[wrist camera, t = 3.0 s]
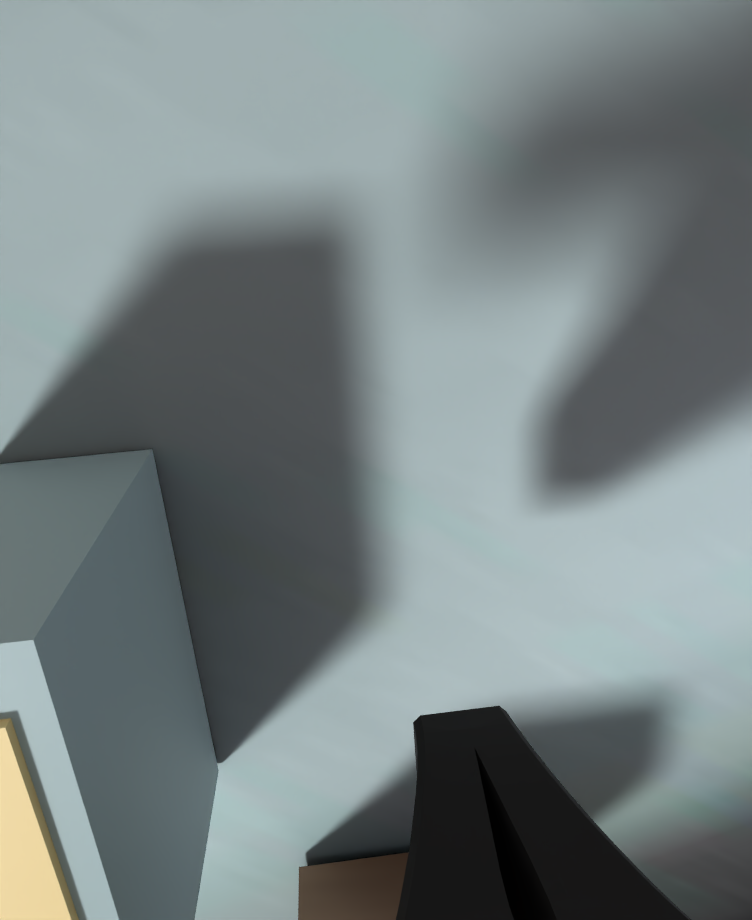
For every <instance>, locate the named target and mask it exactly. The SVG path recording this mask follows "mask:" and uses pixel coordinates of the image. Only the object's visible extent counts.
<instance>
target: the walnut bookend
mask: <svg viewBox="0 0 752 920" xmlns="http://www.w3.org/2000/svg"><path fill="white" fill-rule="evenodd" d="M408 853H409V852H408ZM408 853H401V854H394V855H386V856H379V857H371V858H364V859H356V860H349V861H342V862H334V863H327V864H319V865H312V866H304V867H299V908H298V920H396V916H397V912H398V907H399V902H400V897H401V892H402V886H403V881H404V875H405V870H406V864H407V859H408Z"/></svg>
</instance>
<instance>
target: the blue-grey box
mask: <svg viewBox="0 0 752 920" xmlns="http://www.w3.org/2000/svg"><path fill="white" fill-rule="evenodd" d="M217 777H218V766H217V761H216V757H215V752H214V747H213V742H212V737H211V732H210V727H209V722H208V718H207V713H206V708H205V703H204V698H203V693H202V688H201V683H200V679H199V674H198V669H197V664H196V659H195V654H194V649H193V644H192V640H191V635H190V630H189V625H188V620H187V615H186V610H185V606H184V601H183V596H182V591H181V586H180V581H179V576H178V571H177V567H176V562H175V557H174V552H173V547H172V542H171V537H170V532H169V528H168V523H167V518H166V513H165V508H164V503H163V498H162V493H161V489H160V484H159V479H158V474H157V469H156V464H155V459H154V455H153V450H152V449H150V450H140V451H129V452H119V453H109V454H98V455H88V456H78V457H68V458H57V459H47V460H37V461H26V462H16V463H6V464H0V920H194V919H195V912H196V906H197V900H198V894H199V888H200V882H201V875H202V869H203V863H204V857H205V851H206V844H207V838H208V832H209V826H210V820H211V814H212V807H213V801H214V795H215V789H216V783H217Z"/></svg>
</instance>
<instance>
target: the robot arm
mask: <svg viewBox="0 0 752 920" xmlns="http://www.w3.org/2000/svg"><path fill="white" fill-rule="evenodd" d="M413 724H414V739H415V754H416V769H417V785H416V798H415V807H414V816H413V825H412V834H411V841H410V848H409V853H408V859H407V864H406V870H405V875H404V881H403V886H402V892H401V897H400V902H399V907H398V912H397V916H396V920H691V919H690V918H689V917H688V916H687V915H686V914H685V913H683V912H682V911H681V910H680V909H679V908H678V907H677V906H676V905H675V904H674V903H673V902H672V901H671V900H670V899H669V898H668V897H666V896H665V895H664V894H663V893H662V892H661V891H660V890H659V889H658V888H657V887H656V886H655V885H654V884H653V883H652V882H651V881H650V880H649V879H648V878H647V877H646V876H645V875H644V874H643V873H642V872H641V871H640V870H639V869H638V868H637V867H636V866H635V865H634V864H633V863H632V862H631V861H630V860H629V859H628V857H627V856H626V855H625V854H624V853H623V852H622V851H621V850H620V849H619V848H618V847H617V846H616V845H615V844H614V843H613V842H612V841H611V840H610V839H609V838H608V836H607V835H606V834H605V833H604V832H603V831H602V830H601V829H600V828H599V827H598V826H597V824H596V823H595V822H594V821H593V820H592V819H591V818H590V816H589V815H588V814H587V813H586V812H585V811H584V810H583V808H582V807H581V806H580V805H579V804H578V803H577V802H576V800H575V799H574V798H573V797H572V796H571V795H570V794H569V792H568V791H567V790H566V789H565V788H564V787H563V785H562V784H561V783H560V782H559V781H558V779H557V778H556V777H555V776H554V775H553V773H552V772H551V771H550V770H549V768H548V767H547V766H546V765H545V763H544V762H543V761H542V759H541V758H540V757H539V756H538V754H537V753H536V752H535V751H534V749H533V748H532V747H531V745H530V744H529V743H528V741H527V740H526V739H525V737H524V736H523V735H522V733H521V732H520V731H519V729H518V728H517V726H516V725H515V724H514V722H513V721H512V719H511V718H510V716H509V715H508V714H507V712H506V711H505V710H504V709H502V708H501V707H500V706H494V707H486V708H478V709H470V710H461V711H453V712H445V713H437V714H429V715H421V716H419V717H418V718H417V719H416V720H415V721H414V722H413Z"/></svg>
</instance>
